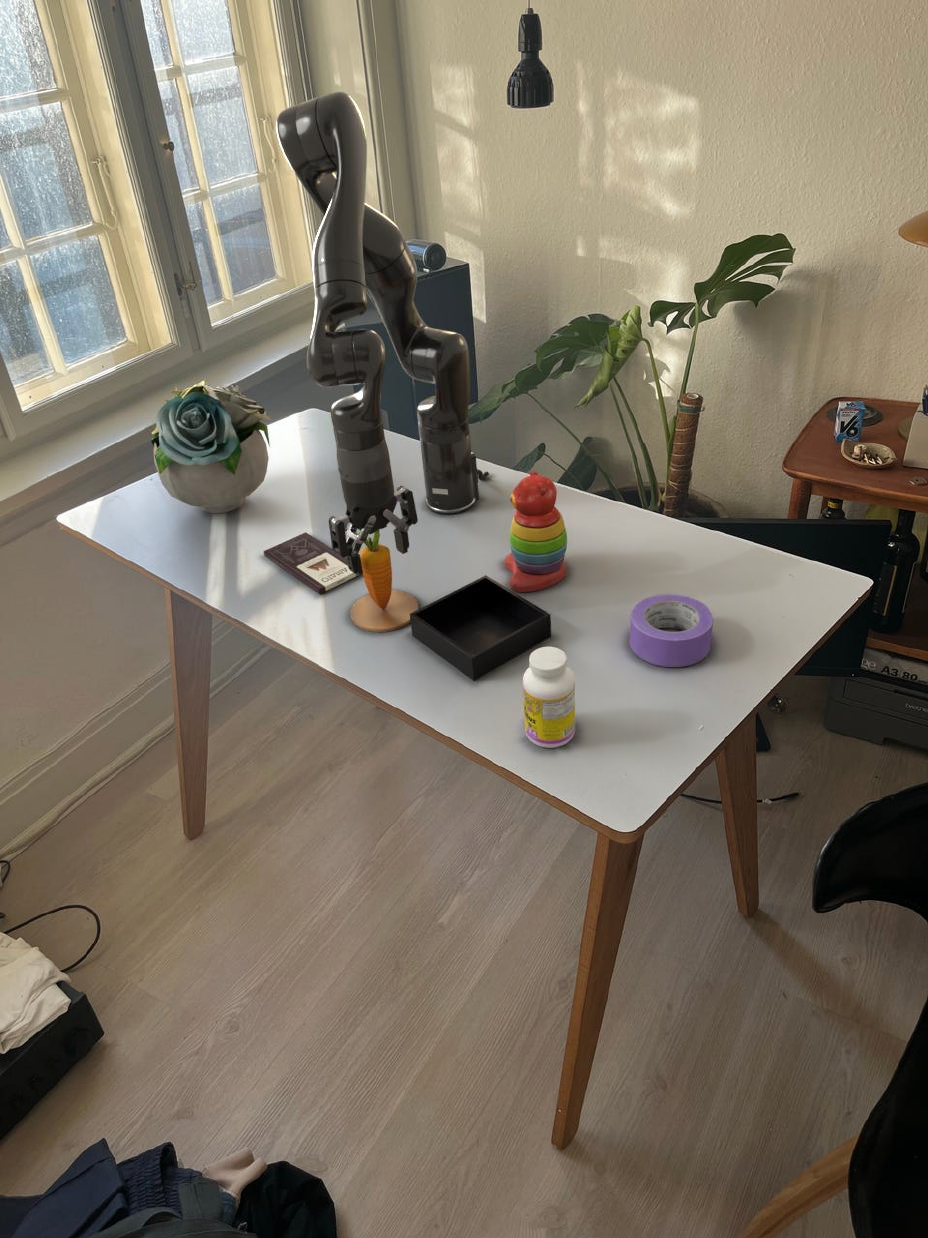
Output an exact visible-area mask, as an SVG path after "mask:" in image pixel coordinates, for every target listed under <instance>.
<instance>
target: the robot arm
mask: <svg viewBox="0 0 928 1238" xmlns="http://www.w3.org/2000/svg"><path fill="white" fill-rule="evenodd" d="M363 119H364V118H363V116H362V114H361V111H360V109H359V107H358V105H357V103H356V102H355V100H354V99H353V98H352V97H351V96H350V94H348V93H347V92H345V91H334V92H329V93H326V94H323V95H320V96H317V97H314V98H311V99H308V100H306V101H302V102H300V103H296V104H295V105H292V106H289V107H287V108H285V109H284V110H281V111H280V112H279V114H278V116H277V118H276V123H275V125H276V126H275V129H276V134H277V139H278V142H279V145H280V148H281V150H282V153H283V155H284V157H285V159H286V161H287V163H288V164H289V166H290V168H291V170H292V171H293V173H294V174H295V176H296V178H297V180H298V181H299V182H300V184H301V185H302V187H303V188H304V190H305V191H306V192H307V194H308V196H309V197H310V199H312V201H313V202H314V204H315V205H316V207H317V209H318V210H319V212H320V213H321V215H322V216H323V219H322V221H321V224H320V226H319V228H318V232H317V234H316V237H315V240H314V244H313V249H312V257H311V262H312V263H311V265H312V279H313V290H314V291H313V293H314V313H313V321H312V326H311V327H312V328H311V332H310V335H309V336H310V337H309V340H308V345H307V352H306V366H307V371H308V373H309V376H310V377H311V379H312V380H313V382H315V384H316V385H318V386H320V387H322V388H335V387H345V386H355V385H362V388H360V390H359V391H357V392H354V393H353V394H349V395H347V396H344V397H341V398H339V399H337V400H336V401H335V402H333V404H332V405H331V408H330V420H331V424H332V431H333V434H334V435H333V436H334V441H335V448H336V449H335V450H336V462H337V468H338V469H337V470H338V473H339V478H340V479H339V480H340V483H341V490H342V494H343V500H344V502H345V505H346V510H345V514H343V515H341V516H338V517H336V516H334V515H331V516H330V517H328V528H329V536H330V542H331V549H332V550H333V551H334V552H335V553H337V554H338V555H339V556H341V557H342V558H347V564H348V568H349V570H350V571H352V572H353V573H354V574H356V575H358V577H359V576H363V570H362V564H361V558H360V552H361V548H362V545H364V544H365V542H366V539H368V537H369V535H374V533H375V532H376V531H377V530H383V529H385V528H387V527H388V525H389V524H390V525H391V526H393V527H394V529H393V535H394V542H395V548H396V551H398V552H399V553H401V554H403V555H405V554H406V553H408V552H409V550H408V549H410V539H409V533H408V532H409V530H410V527H411V526H412V525H414V526H415V525H416V524H417V523H418V521H419V519H418V514H417V508H416V504H415V503H416V502H415V498H414V493H413V491H412V490H410V489H409V488H407V487H405V486H403V485H398V487H397V489H396V491H395V484H394V479H393V471H392V464H391V457H390V451H389V448H388V447H389V446H388V444H387V441H386V436H385V430H384V429H385V428H384V423H383V416H382V390H383V389H382V387H383V383H384V382H383V381H384V374H385V369H386V363H387V362H386V361H387V350H386V345H385V342H384V340H383V338H382V337H381V335H380V334H379V333H377V331H375V330H373V329H370V328H359V329H353V330H342V331H336V330H337V329H338V328H339V327H340V326H341V325H343V324H345V323H347V322H350V321H353V320H355V319H358V318H360V317H361V316H363V315H364V314H365V313H366V311H367V309H368V297H369V299H370V301H371V302H372V304H373V307H374V308H375V311H376V313H377V315H378V316H379V318H380V320H381V321H382V323H383V325H384V327H385V329H386V332H387V334H388V337H389V340H390V342H391V344H392V346H393V349H394V351H395V354H396V356H397V358H398V361H399V363H400V365H401V367H402V369H403V371H404V372H405V374H407V376H408V377H410V378H411V379H413V380H415V381H418V382H420V383H427V384H431V385H435V386H434V387H435V394H434V395H432V396H429V397H427V398H425V399H423V400H421V402H419V403H418V405H417V407H416V418H417V425H418V436H419V444H420V451H421V462H422V469H423V470H422V471H423V479H424V489H425V502H426V503H425V504H426V507H427V509H429V511H432V512H434V513H438V514H443V515H445V514H446V515H451V514H458V513H462V512H465V511H467V510H469V509H471V508H472V507H474V505H475V503H476V502H477V501H478V500H479V499H480V493H479V481H483V480H485V479H486V478H487V477H489V476H490V472H488V471H487V470H486V471H485V472H483V471H482V470H481V469H479V468H478V467H477V455H476V454H475V452H473V451H472V445H471V433H470V432H471V431H470V421H469V407H470V401H471V362H470V361H471V360H470V359H471V358H470V351H469V345H468V343H467V339H466V338H465V337H464V336H463V335H462V334H461V333H458V332H455V331H450V330H444V329H439V328H433V327H430V326H428V325H427V324H426V323H425V321H424V320H423V319H422V317H421V316H420V314H419V312H418V309H417V307H416V305H415V301H414V299H415V293H416V289H417V283H418V267H417V263H416V259H415V257H414V255H413V253H412V251H411V249H410V246H409V245H408V243H407V241H406V238H405V237H404V234H403V232H402V231H401V228H399V226H398V225H397V224H396V223H395V222H393V221H392V220H391V219H390V218H389V217H388V216H386V215H385V214H384V213H382V212H380V211H379V210H378V209H377V208H375V207H373V206H371V205H369V204H368V203H366V190H367V189H366V187H367V165H368V164H367V163H368V140H367V132H366V127H365V122H364V120H363ZM398 503H399V507H400V512H401V518H400V517H398V516H397V515H396V514H395V513H394V511H395V509H396V507H397V504H398ZM348 525H349V526H348ZM358 530H359V532H360V534H359V535H358V532H357V531H358Z"/></svg>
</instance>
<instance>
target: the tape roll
mask: <svg viewBox="0 0 928 1238" xmlns="http://www.w3.org/2000/svg"><path fill="white" fill-rule="evenodd" d="M629 625H630V626H629V646H630V649H631V650H632V652H633V653H634V654H635V656H637V657H638V658H640V659H641V660H643V661H645V662H647V663H649V664H651V665H655V666H659V667H664V668H665V667H666V668H684V667H689V666H692V665H695V664H698V663H699V662H701V661H702V660H704V659H705V658H706V657H707V656H708V654H709V652H710V651H711V647H712V646H711V645H712V636H713V635H712V634H713V626H714V616H713V612H712V611H711V609H710V608H709V607H708V606H707V605H706V604H704V603H703V602H701V601H700V600H698V599H695V598H694V597H690V596H687V595H684V594H683V595H682V594H676V593H672V594H671V593H663V594H656V595H651V596H648V597H646V598H645V597H644V599H641V600H640V601H639V602H637V603H636V604H635V605H634V606H633V607H632V609H631V611H630V623H629ZM664 628H665V629H666V628H670V629H671V628H672V629H678V630H680V631H666V630H662V629H664Z"/></svg>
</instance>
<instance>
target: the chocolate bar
mask: <svg viewBox="0 0 928 1238" xmlns="http://www.w3.org/2000/svg"><path fill="white" fill-rule="evenodd" d="M263 555H264V557H266V558H267V559H269V560H270V561H271V562H273V563H274V564H275V565H277V566H278V567H279V568H281V569H282V570H284V571H285V572H286V573H288V574H290V575H291V576H293V577H294V578H295V579H297V580H298V581H300V582H301V583H302V584H304V585H305V586H306V587H308V588H309V589H310V590H312V591H314V592H315V593H317V594H318V595H321V594H323V593H326V592H327V591H329V590H332V589H333V588H336V587H337V586H339V585H341V584H344V583H345V582H347V581H349V580H351V579H353V578H355V577H357V576H358V575H356V574H354V573H353V572H352V571H350V570H349V568H348V564H347V558H346V557H345V558H342V557H341V556H339V555H338V554H337V553H335V552H334V551H333V550H332V547H330V546H328V545H327V544H325V543H324V542H322V541H320V540H319V539H317V538H315V536H313V535H311V534H310V533H308V532H307V531H305V532H303V533H300V534H298V535H296V536H294V537H292V538H289V539H288V540H285V541H283V542H280V543H279V544H276V545H274V546H272V547H270V548H267V549H265V550H263ZM358 577H359V576H358Z"/></svg>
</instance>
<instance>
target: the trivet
mask: <svg viewBox="0 0 928 1238" xmlns="http://www.w3.org/2000/svg"><path fill="white" fill-rule="evenodd" d="M418 609H420V607H419V603H418V600H417V599H416V597H415V596H413V595H412V594H410V593H409V592H407V591H403V590H398V589H392V590H391V596H390V600H389V602H388V604H387V607H386V608H385V609H381V608H379V606H378V605H377V604H376V603H375V602H374V601H373V599H372V598H371V596H370V594H369V593H368V594H366V595H363V596H361V597H360V598H359V599H357V600H356V601H355V602H354V603H353V605H351V608H350V614H349V615H350V619H351V621H352V623H353V624H354V626H356V627H357V628H359V629H361V630H363V631H366V632H372V633H386V632H391V631H396V630H398V629H401V628H404V627H405V626H407V625H409V624H411V621H410V613H413V612H414V611H416V610H418Z"/></svg>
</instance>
